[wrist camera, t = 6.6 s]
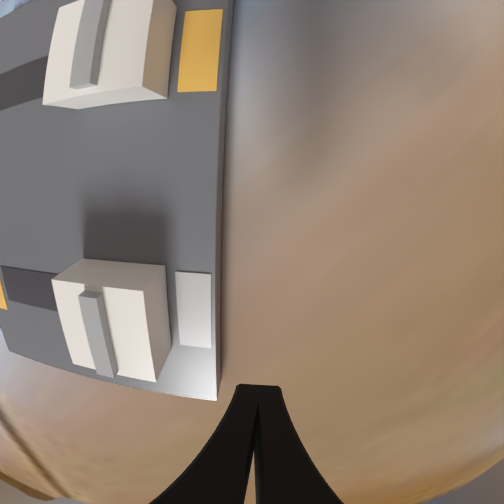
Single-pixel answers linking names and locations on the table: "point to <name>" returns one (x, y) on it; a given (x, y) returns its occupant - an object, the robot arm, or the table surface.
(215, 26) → the switch panel
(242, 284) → the table surface
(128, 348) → the slider
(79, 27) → the slider
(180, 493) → the robot arm
